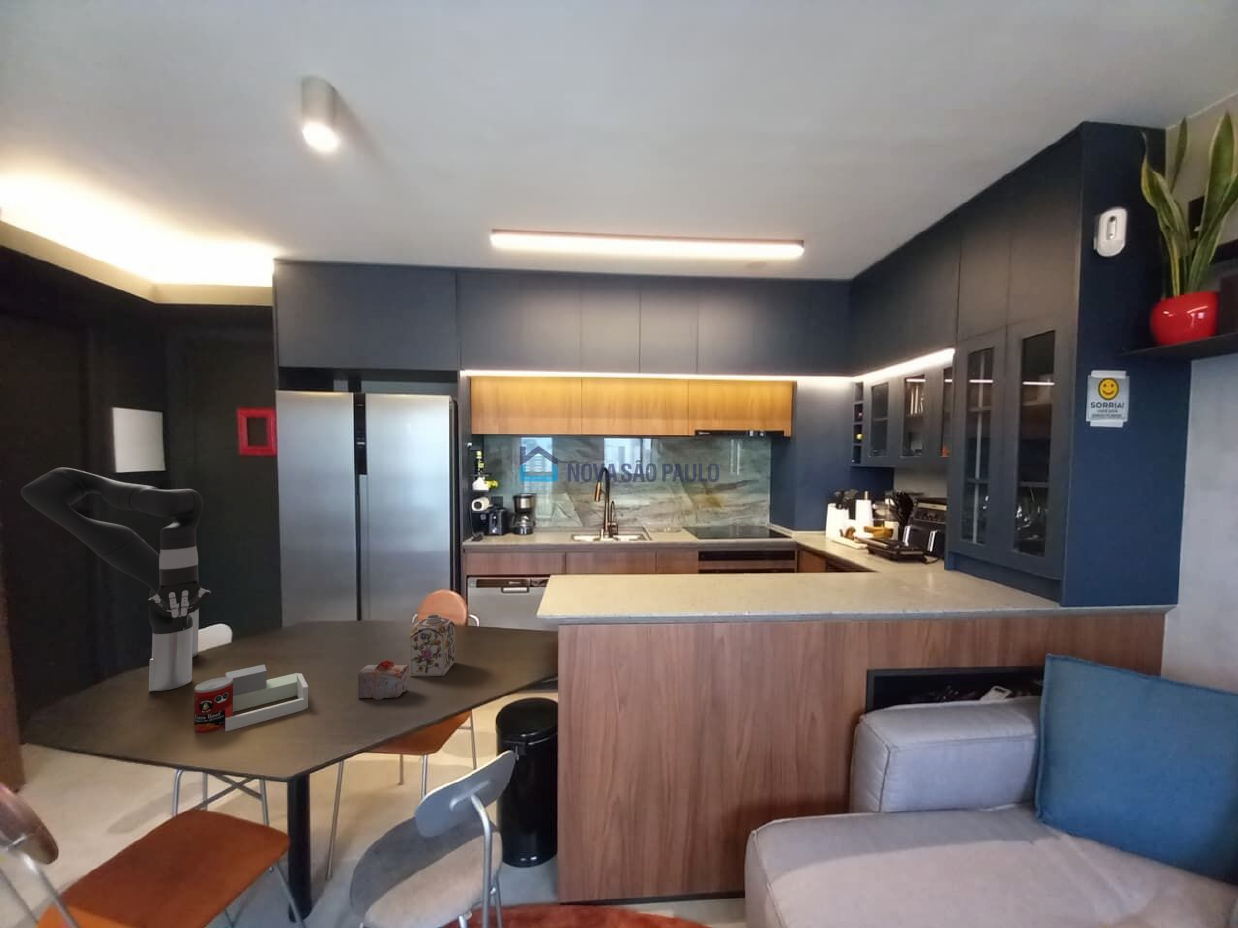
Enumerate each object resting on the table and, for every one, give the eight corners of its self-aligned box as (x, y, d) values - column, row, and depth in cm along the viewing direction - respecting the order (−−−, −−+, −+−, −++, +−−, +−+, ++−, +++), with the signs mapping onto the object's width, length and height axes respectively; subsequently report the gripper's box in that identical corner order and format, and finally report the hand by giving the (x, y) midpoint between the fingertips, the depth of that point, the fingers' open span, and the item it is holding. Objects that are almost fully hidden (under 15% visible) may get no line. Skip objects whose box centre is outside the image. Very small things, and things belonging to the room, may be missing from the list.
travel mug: (195, 651, 176) (196, 597, 176) (199, 656, 172) (200, 600, 172) (172, 656, 171) (173, 601, 172) (176, 661, 167) (177, 604, 167)
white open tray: (215, 734, 121) (215, 698, 121) (213, 706, 135) (214, 674, 135) (308, 708, 134) (308, 676, 134) (297, 685, 148) (298, 656, 148)
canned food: (186, 735, 120) (187, 691, 120) (204, 719, 128) (205, 678, 128) (222, 730, 122) (223, 687, 123) (238, 715, 130) (239, 675, 130)
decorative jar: (456, 662, 167) (456, 610, 167) (445, 676, 155) (445, 621, 155) (421, 662, 166) (422, 611, 167) (407, 677, 155) (408, 621, 155)
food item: (412, 688, 147) (412, 656, 147) (401, 701, 139) (401, 667, 139) (367, 689, 146) (367, 657, 146) (353, 701, 138) (354, 667, 138)
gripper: (141, 570, 119) (142, 640, 119) (210, 563, 127) (212, 628, 127) (146, 566, 125) (148, 631, 125) (212, 559, 133) (214, 621, 133)
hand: (180, 629), depth 126 cm, fingers closed
